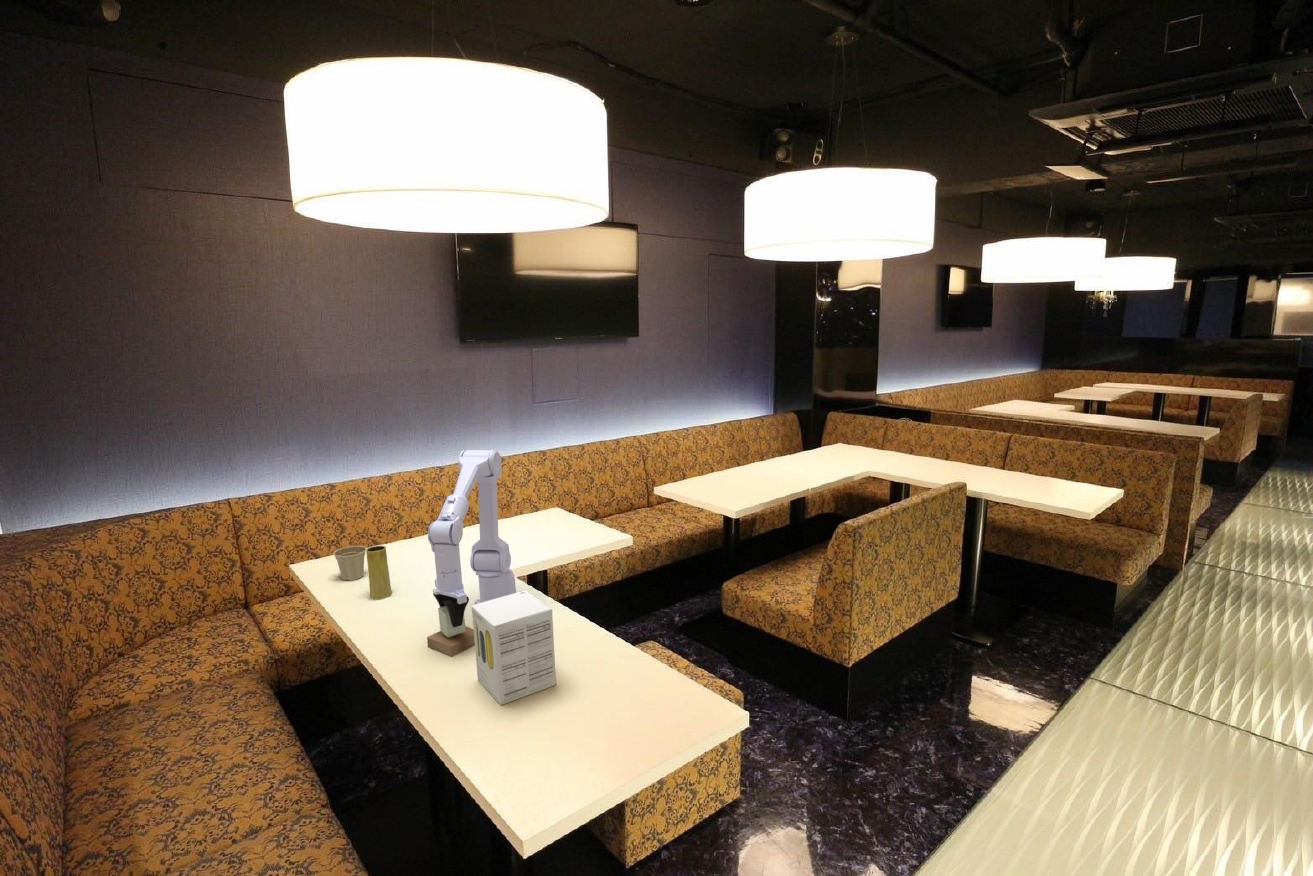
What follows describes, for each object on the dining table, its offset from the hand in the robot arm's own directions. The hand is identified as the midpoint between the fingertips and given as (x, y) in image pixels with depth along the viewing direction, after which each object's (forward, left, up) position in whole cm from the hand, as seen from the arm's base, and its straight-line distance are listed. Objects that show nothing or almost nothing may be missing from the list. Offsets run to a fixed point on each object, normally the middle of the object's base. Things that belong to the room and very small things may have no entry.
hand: (453, 622), depth 162 cm
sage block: (0, 0, -2) cm, 2 cm away
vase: (+4, -44, -6) cm, 45 cm away
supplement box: (-3, +26, -6) cm, 27 cm away
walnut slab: (0, 0, -6) cm, 6 cm away
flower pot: (+6, -65, -6) cm, 66 cm away
